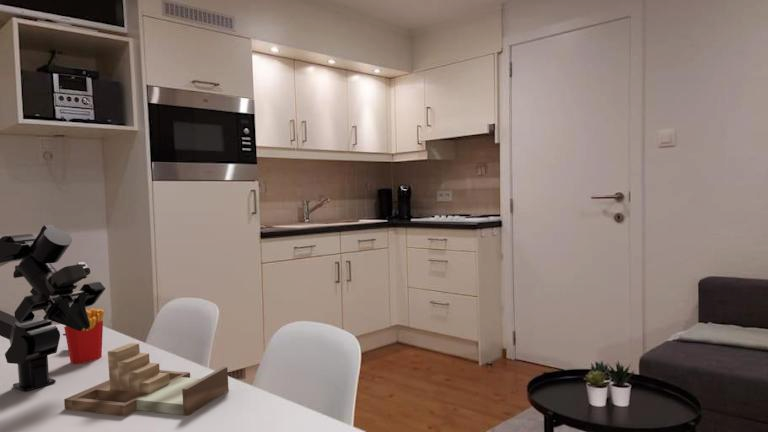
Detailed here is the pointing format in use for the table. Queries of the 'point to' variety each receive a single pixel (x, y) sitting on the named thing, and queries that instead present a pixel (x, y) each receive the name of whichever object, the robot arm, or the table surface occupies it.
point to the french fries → (86, 339)
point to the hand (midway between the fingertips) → (85, 328)
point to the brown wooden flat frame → (153, 395)
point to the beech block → (134, 370)
